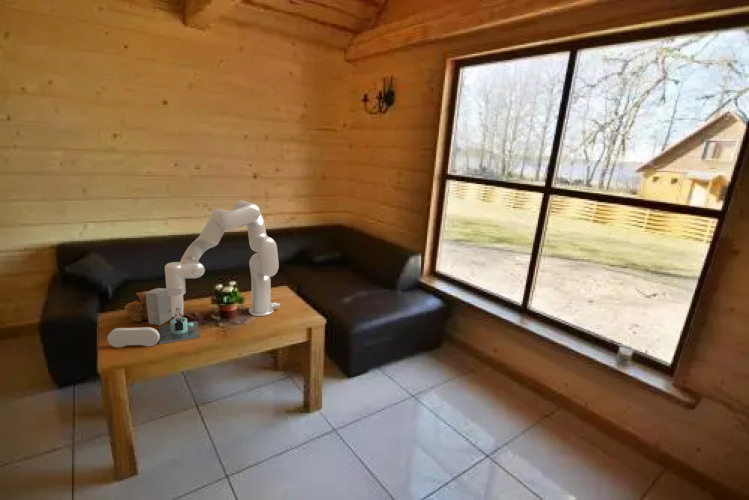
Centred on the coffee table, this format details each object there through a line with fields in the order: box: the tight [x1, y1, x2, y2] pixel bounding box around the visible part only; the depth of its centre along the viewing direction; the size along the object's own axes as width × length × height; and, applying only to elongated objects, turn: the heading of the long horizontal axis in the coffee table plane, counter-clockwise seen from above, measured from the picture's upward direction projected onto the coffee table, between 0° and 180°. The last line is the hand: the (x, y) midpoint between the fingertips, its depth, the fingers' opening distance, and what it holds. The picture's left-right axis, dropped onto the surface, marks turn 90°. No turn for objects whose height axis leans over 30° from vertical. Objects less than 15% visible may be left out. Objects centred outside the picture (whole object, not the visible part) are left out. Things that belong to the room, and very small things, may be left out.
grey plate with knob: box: [158, 320, 201, 345], centre depth 174 cm, size 16×16×5 cm
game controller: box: [106, 326, 160, 348], centre depth 161 cm, size 20×2×8 cm, turn 100°
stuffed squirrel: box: [123, 290, 150, 323], centre depth 185 cm, size 10×14×13 cm
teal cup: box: [169, 316, 193, 334], centre depth 174 cm, size 7×9×5 cm
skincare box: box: [145, 287, 172, 326], centre depth 182 cm, size 8×7×16 cm
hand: (179, 325), depth 174 cm, fingers open, 8 cm apart
